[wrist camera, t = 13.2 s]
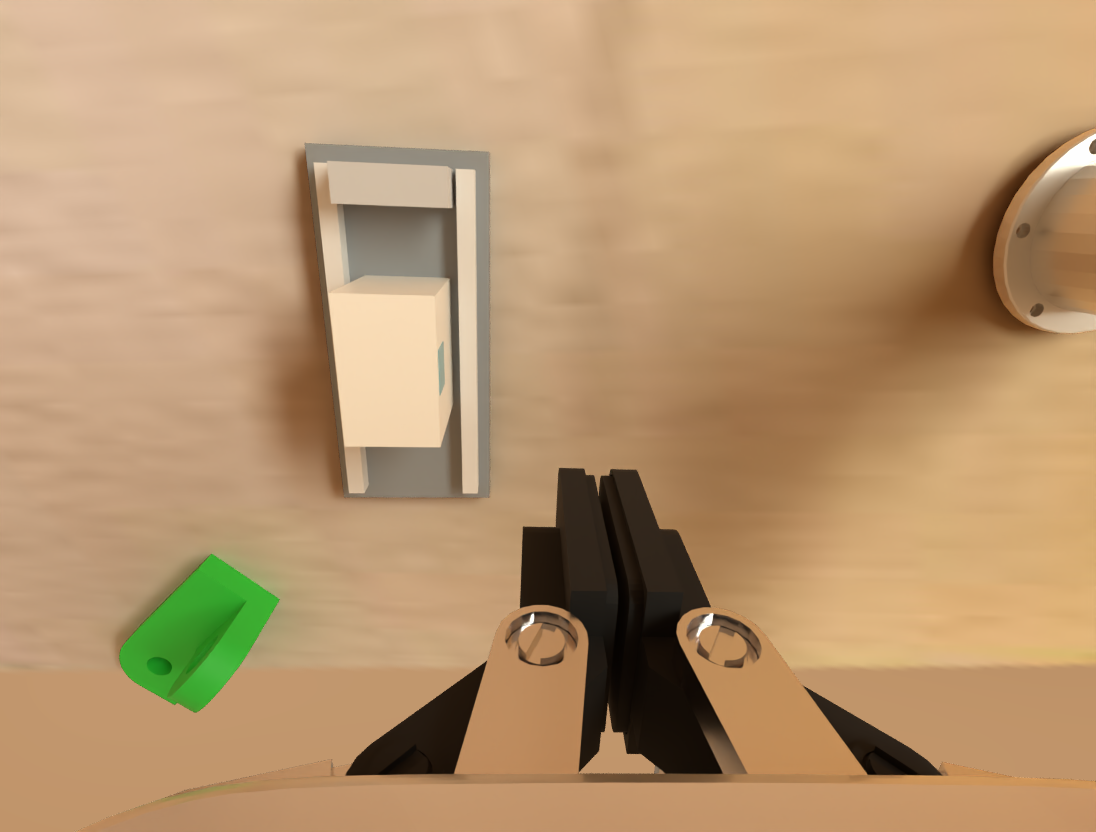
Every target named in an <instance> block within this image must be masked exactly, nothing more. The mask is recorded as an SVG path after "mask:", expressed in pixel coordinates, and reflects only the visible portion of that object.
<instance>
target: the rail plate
mask: <svg viewBox="0 0 1096 832" xmlns="http://www.w3.org/2000/svg"><path fill="white" fill-rule="evenodd" d="M305 151H306V160H307V169H308V178H309V187H310V196H311V205H312V214H313V223H314V232H315V241H316V250H317V259H318V268H319V277H320V286H321V295H322V304H323V312H324V321H325V330H326V339H327V348H328V357H329V366H330V375H331V384H332V393H333V402H334V411H335V420H336V429H337V438H338V447H339V456H340V465H341V474H342V483H343V492H344V497H424V498H489V497H490V153H489V152H480V151H459V150H438V149H417V148H396V147H375V146H354V145H333V144H312V143H305ZM365 275H373V276H405V277H437V278H450V291H451V329H452V367H453V406H452V410H451V413H450V416H449V420H448V423H447V427H446V430H445V433H444V437H443V440H442V444H441V447H345V446H344V437H343V427H342V418H341V409H340V399H339V390H338V380H337V371H336V362H335V352H334V343H333V333H332V324H331V315H330V305H329V296H328V293H329V292H331V291H333V290H335V289H337V288H340V287H342V286H344V285H346V284H348V283H350V282H352V281H354V280H356V279H358V278H361V277H363V276H365Z"/></svg>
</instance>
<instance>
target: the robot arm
mask: <svg viewBox="0 0 1096 832" xmlns="http://www.w3.org/2000/svg"><path fill="white" fill-rule="evenodd" d="M993 274H994V279H995V284H996V289H997V292H998V294H999V296H1000V298H1001V300H1002V303H1003V304H1004V306H1005V307H1006V308H1007V309H1008V311H1009V312H1010V313H1011V314H1012V315H1013V316H1014V317H1015V318H1017V319H1018V320H1020V321H1021V322H1022V323H1024V324H1026V325H1028V326H1031V327H1033V328H1036V329H1039V330H1043V331H1048V332H1053V333H1057V334H1078V333H1084V332H1090V331H1094V330H1096V128H1094V129H1091V130H1089V131H1086V132H1084V133H1082V134H1080V135H1078V136H1077V137H1075V138H1073V139H1071V140H1070V141H1068V142H1066V143H1064V144H1063V145H1062V146H1061V147H1059V148H1058V149H1057V150H1055V151H1054V152H1053V153H1052V154H1050V155H1049V156H1048V157H1047V158H1045V159H1044V161H1043V162H1042V163H1041V164H1040V165H1039V166H1038V167H1037V168H1036V169H1035V170H1034V171H1033V172H1032V173H1031V174H1030V175H1029V176H1028V178H1027V179H1026V180H1025V182H1024V183H1023V185H1022V186H1021V187H1020V189H1019V190H1018V191H1017V193H1016V194H1015V196H1014V198H1013V200H1012V201H1011V203H1010V205H1009V207H1008V209H1007V211H1006V213H1005V215H1004V217H1003V220H1002V223H1001V226H1000V228H999V231H998V234H997V238H996V244H995V249H994V254H993ZM608 704H609V711H610V718H611V724H612V729H613V732H623V734H624V740H625V746H626V752H627V754H642V755H643V756H644V757H646V758H647V759H648V760H649V761H651V762H652V763H653V764H654V765H655V771H654V774H578V773H579V772H580V771H581V769H582V768H583V767H584V766H585V765H586V764H587V763H588V762H589V761H590V760H591V759H592V758H593V757H594V755H596V754H597V752H598V751H599V746H600V736H601V732H604V731H605V724H606V715H607V706H608ZM75 832H1096V781H1087V780H1074V779H1055V778H1019V777H1012V776H1007V775H1002V774H998V773H993V772H988V771H984V770H979V769H974V768H969V767H965V766H960V765H955V764H950V763H946V762H942V763H941V765H940V767H939V769H938V770H937V769H936V768H935V767H934V766H933V765H932V764H931V763H930V762H929V761H927V760H926V759H925V758H924V757H922V756H921V755H919V754H918V753H916V752H915V751H913V750H912V749H911V748H909V747H908V746H906V745H904V744H902V743H901V742H899V741H897V740H896V739H894V738H892V737H890V736H889V735H887V734H885V733H884V732H882V731H880V730H878V729H877V728H875V727H873V726H871V725H870V724H868V723H866V722H865V721H863V720H861V719H859V718H858V717H856V716H854V715H853V714H851V713H849V712H847V711H846V710H844V709H842V708H841V707H839V706H837V705H835V704H833V703H832V702H830V701H829V700H827V699H825V698H823V697H822V696H820V695H818V694H817V693H815V692H813V691H811V690H810V689H808V688H806V687H804V686H803V685H802V684H801V683H800V681H799V680H798V679H797V677H796V676H795V674H794V673H793V672H792V670H791V669H790V668H789V666H788V665H787V664H786V662H785V661H784V659H783V658H782V657H781V655H780V654H779V653H778V651H777V650H776V648H775V647H774V646H773V644H772V643H771V642H770V640H769V639H768V637H767V636H766V635H765V634H764V633H763V632H762V631H761V629H760V628H759V627H758V626H757V625H756V624H754V623H753V622H751V621H750V620H748V619H747V618H745V617H744V616H741V615H739V614H737V613H734V612H732V611H729V610H725V609H720V608H711V606H710V604H709V601H708V599H707V597H706V594H705V592H704V590H703V588H702V585H701V583H700V581H699V578H698V576H697V574H696V571H695V569H694V567H693V565H692V562H691V560H690V558H689V555H688V553H687V551H686V549H685V546H684V544H683V542H682V539H681V537H680V535H679V533H678V532H677V531H676V530H669V529H659V527H658V524H657V521H656V519H655V516H654V513H653V511H652V508H651V506H650V503H649V500H648V498H647V495H646V492H645V490H644V487H643V485H642V482H641V479H640V477H639V474H638V472H637V470H619V469H611V470H610V474H609V476H601V478H600V487H599V496H598V491H597V487H596V482H595V477H594V475H585V470H584V469H575V468H559V473H558V491H557V511H556V527H523V541H522V568H521V596H520V609H518V610H516V611H514V612H512V613H510V614H509V615H508V616H507V617H506V618H504V619H503V620H502V621H501V623H500V625H499V627H498V629H497V631H496V633H495V637H494V640H493V644H492V647H491V650H490V654H489V657H488V660H487V661H486V662H485V663H483V664H482V665H481V666H479V667H478V668H476V669H475V670H474V671H472V672H471V673H470V674H468V675H467V676H465V677H464V678H463V679H461V680H460V681H458V682H457V683H456V684H454V685H453V686H451V687H450V688H449V689H447V690H446V691H444V692H443V693H442V694H441V695H439V696H437V697H436V698H435V699H433V700H432V701H430V702H429V703H428V704H426V705H425V706H424V707H422V708H421V709H419V710H418V711H416V712H415V713H414V714H412V715H411V716H410V717H408V718H407V719H406V720H404V721H403V722H401V723H400V724H398V725H397V726H396V727H394V728H393V729H391V730H390V731H389V732H387V733H386V734H384V735H383V736H382V737H380V738H379V739H377V740H376V741H375V742H373V743H372V744H371V745H369V746H368V747H367V748H366V749H365V750H364V751H363V752H362V753H361V754H360V755H358V756H357V757H356V759H355V760H354V762H353V763H352V764H347V765H343V766H338V767H333V763H332V759H330V760H325V761H320V762H316V763H311V764H306V765H301V766H297V767H292V768H287V769H282V770H278V771H273V772H268V773H264V774H259V775H255V776H249V777H245V778H240V779H235V780H231V781H226V782H221V783H217V784H212V785H207V786H202V787H198V788H193V789H188V790H185V791H182V792H179V793H176V794H174V795H171V796H168V797H165V798H162V799H160V800H156V801H154V802H151V803H148V804H145V805H142V806H139V807H136V808H134V809H130V810H128V811H125V812H122V813H119V814H116V815H113V816H110V817H107V818H105V819H103V820H100V821H98V822H96V823H93V824H91V825H89V826H87V827H84V828H82V829H80V830H78V831H75Z"/></svg>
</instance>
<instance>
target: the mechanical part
mask: <svg viewBox="0 0 1096 832" xmlns="http://www.w3.org/2000/svg"><path fill="white" fill-rule="evenodd" d="M279 600H280V599H278V598H277V597H275V596H274V595H272V594H271V593H269V592H268V591H266V590H265V589H263V588H262V587H260V586H259V585H257V584H256V583H254V582H253V581H251V580H250V579H248V578H247V577H246V576H244V575H243V574H241V573H240V572H238V571H237V570H235V569H234V568H232V567H231V566H229V565H228V564H226V563H225V562H223V561H222V560H220V559H219V558H217V557H216V556H214V555H213V554H211V555H210V556H209V557H208V558H207V559H206V560H205V561H204V562H203V563H202V564H201V565H200V566H199V567H198V568H197V569H196V570H195V571H194V572H193V573H192V574H191V575H190V576H189V577H188V578H187V579H186V580H185V581H184V582H183V583H182V584H181V585H180V586H179V587H178V588H177V589H176V590H175V591H174V592H173V593H172V594H171V595H170V596H169V597H168V598H167V599H166V600H165V601H164V602H163V603H162V604H161V605H160V606H159V607H158V608H157V609H156V610H155V611H154V612H153V613H152V614H151V615H150V616H149V617H148V618H147V619H146V620H145V621H144V622H143V623H142V624H141V625H140V627H139V628H138V629H137V630H136V631H135V632H134V633H133V634H132V636H131V637H130V638H129V639H128V640H127V641H126V642H125V644H124V645H123V646H122V648H121V650H120V655H119V659H120V664H121V667H122V669H123V670H124V672H125V673H126V675H127V676H128V677H129V678H130V679H131V680H133V681H134V682H135V683H137V684H139V685H140V686H142V687H144V688H145V689H147V690H149V691H151V692H153V693H155V694H156V695H158V696H160V697H161V698H163V699H165V700H167V701H168V702H170V703H172V704H174V705H175V704H176V703H179V704H180V705H182V706H184V707H186V708H187V709H189V710H191V711H193V712H198V711H200V710H201V709H202V708H203V707H205V705H207V704H208V703H209V702H210V701H211V699H213V698H214V697H215V695H216V694H217V693H218V692H219V691H220V690H221V689H222V687H223V686H224V685H225V684H226V683H227V681H228V680H229V679H230V678H231V676H232V675H233V674H234V672H235V671H236V670H237V668H238V667H239V666H240V664H241V663H242V661H243V660H244V659H245V657H246V656H247V654H248V652H249V651H250V649H251V647H252V646H253V644H254V642H255V641H256V639H257V637H258V636H259V634H260V632H261V630H262V629H263V627H264V625H265V624H266V622H267V620H268V619H269V617H270V615H271V613H272V612H273V610H274V608H275V607H276V605H277V603H278V602H279Z"/></svg>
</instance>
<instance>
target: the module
mask: <svg viewBox="0 0 1096 832" xmlns="http://www.w3.org/2000/svg"><path fill="white" fill-rule="evenodd" d="M328 296H329V305H330V315H331V324H332V333H333V343H334V352H335V362H336V371H337V380H338V390H339V399H340V409H341V418H342V427H343V437H344V446H345V447H441V444H442V440H443V437H444V433H445V430H446V427H447V423H448V420H449V416H450V413H451V410H452V406H453V367H452V329H451V291H450V278H437V277H405V276H373V275H365V276H363V277H361V278H358V279H356V280H354V281H352V282H350V283H348V284H346V285H344V286H342V287H340V288H337V289H335V290H333V291H331V292H329V293H328Z"/></svg>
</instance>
